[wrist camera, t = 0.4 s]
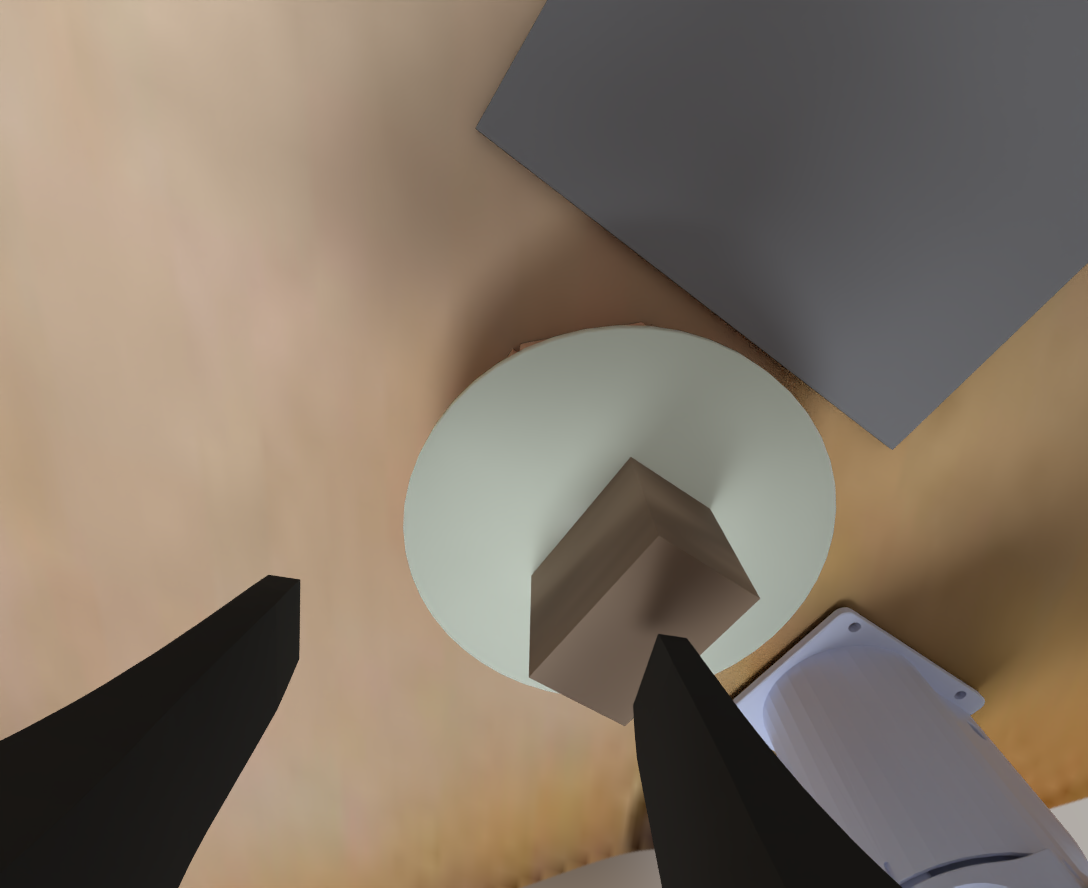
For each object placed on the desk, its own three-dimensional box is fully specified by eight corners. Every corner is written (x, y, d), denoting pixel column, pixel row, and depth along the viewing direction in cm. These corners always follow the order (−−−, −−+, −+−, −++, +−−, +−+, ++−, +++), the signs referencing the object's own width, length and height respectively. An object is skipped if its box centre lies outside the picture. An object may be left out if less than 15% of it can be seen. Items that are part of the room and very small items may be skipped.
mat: (1195, 146, 16) (1210, 145, 16) (886, 445, 20) (892, 449, 20) (761, -376, 12) (768, -394, 12) (477, 130, 16) (475, 128, 16)
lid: (916, 485, 16) (1045, 582, 12) (645, 733, 21) (672, 868, 17) (569, 221, 13) (582, 229, 9) (335, 575, 18) (271, 691, 13)
